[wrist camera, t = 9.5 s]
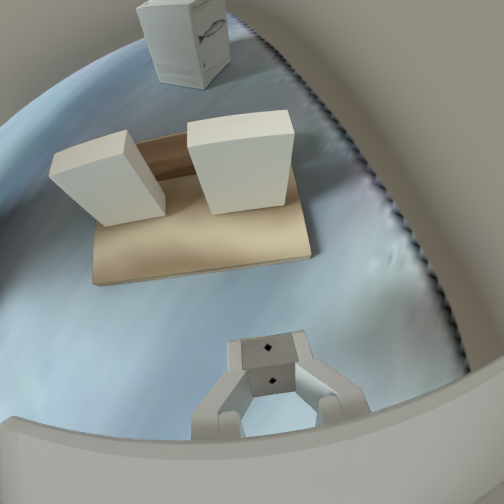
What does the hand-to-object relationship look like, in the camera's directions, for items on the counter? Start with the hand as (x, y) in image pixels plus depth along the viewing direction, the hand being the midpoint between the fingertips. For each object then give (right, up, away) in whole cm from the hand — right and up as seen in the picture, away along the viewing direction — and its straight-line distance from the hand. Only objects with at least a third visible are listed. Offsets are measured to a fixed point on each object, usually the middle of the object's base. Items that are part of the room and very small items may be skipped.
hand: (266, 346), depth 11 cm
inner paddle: (-11, +7, +13) cm, 18 cm away
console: (-6, +7, +15) cm, 17 cm away
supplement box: (-8, +28, +21) cm, 36 cm away
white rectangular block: (-1, +8, +13) cm, 15 cm away
